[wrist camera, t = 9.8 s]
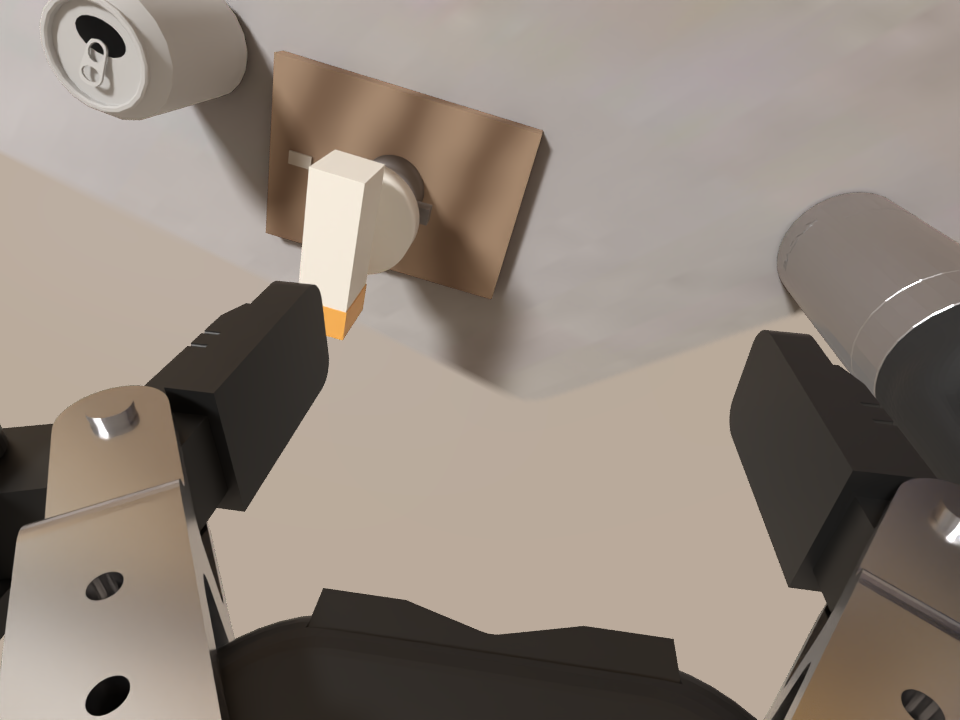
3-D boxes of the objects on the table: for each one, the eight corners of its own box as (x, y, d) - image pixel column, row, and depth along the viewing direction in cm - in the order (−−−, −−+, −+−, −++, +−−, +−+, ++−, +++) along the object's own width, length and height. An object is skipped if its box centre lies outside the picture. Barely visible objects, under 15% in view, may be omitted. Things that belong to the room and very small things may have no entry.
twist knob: (329, 124, 36) (271, 155, 29) (433, 156, 37) (401, 195, 30) (314, 262, 42) (263, 317, 35) (405, 289, 42) (373, 349, 35)
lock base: (542, 130, 42) (538, 153, 36) (493, 291, 50) (482, 334, 44) (283, 50, 42) (233, 60, 35) (273, 226, 49) (230, 260, 43)
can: (264, 16, 41) (166, 23, 31) (239, 115, 45) (145, 149, 35) (163, -43, 39) (27, -56, 29) (147, 64, 43) (21, 84, 33)
